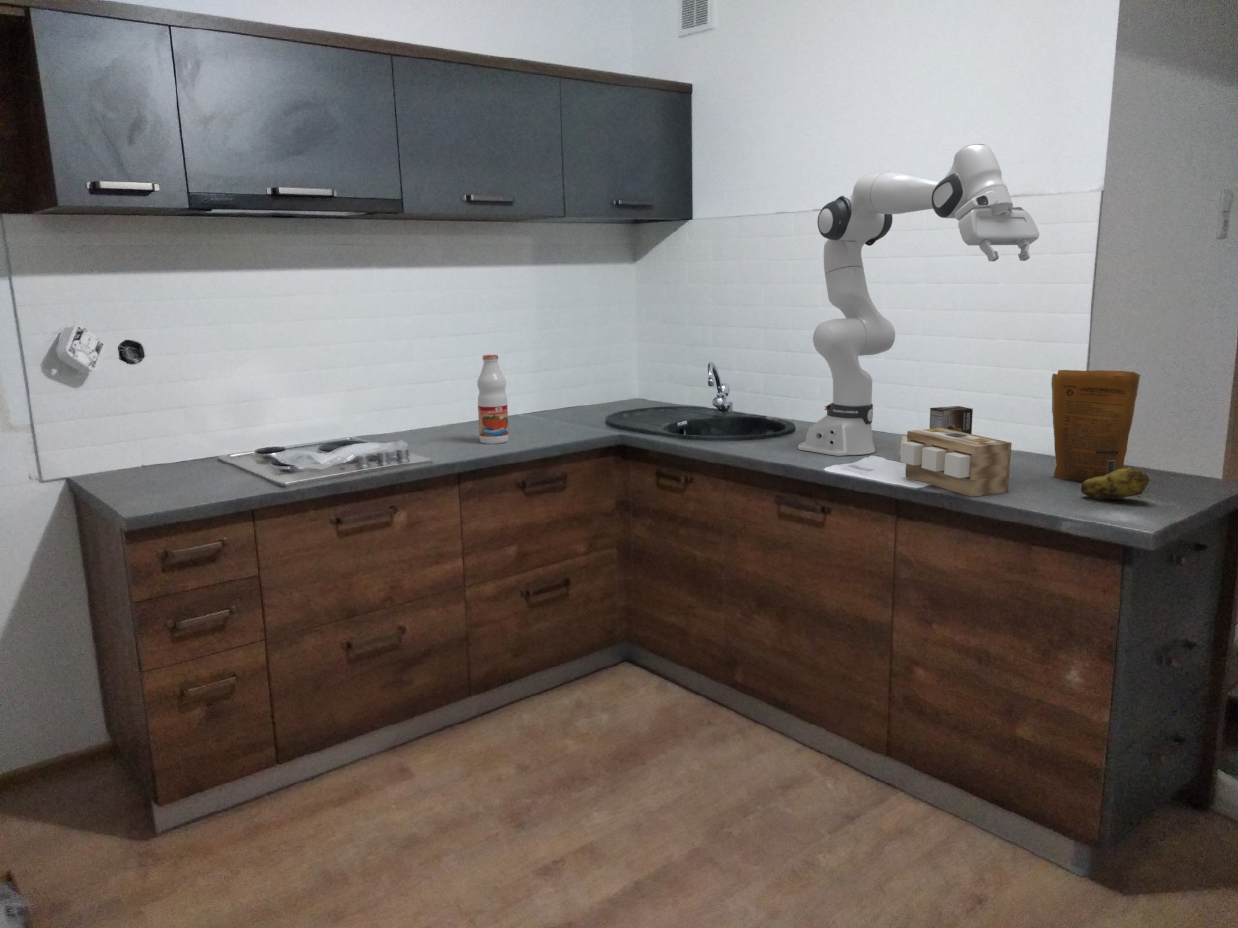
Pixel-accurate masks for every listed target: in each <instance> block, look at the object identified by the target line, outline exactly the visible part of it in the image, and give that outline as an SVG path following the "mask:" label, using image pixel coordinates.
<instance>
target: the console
mask: <svg viewBox="0 0 1238 928" xmlns="http://www.w3.org/2000/svg"><path fill="white" fill-rule="evenodd" d="M906 435H907V436H906V437H907V438H906V442H911V441H919V442H923V443H925V448H926V447H935V446H939V447H944V448H948V453H954V452H964V453H968V454H972V458H971V474H970V477H964V478H957V477H953V476H950V475H946V474H944V471H936V472H935V471H932V470H928V469H924V468H922V465H910V464H906V463H905V474H904V475H905V478H909V479H912V480H915V481H919V482H922V483H925V484H929V485H932V486H935V487H939V488H942V489H944V490H949V491H952V492H954V493H959V494H962V495H965V496H969V497H972V498H975V497H981V496H988V495H995V494H996V495H997V494H1002V493H1003V494H1004V493H1009V486H1010V472H1011V471H1010V469H1011V456H1012V445H1013V444H1012V442H1010V441H1004V440H1000V439H996V438H991V437H987V436H981V435H977V434H973V433H972V434H968V433H964V432H959V431H954V430H950V429H945V428H933V429H929V428H925V429H917V430H916V429H915V430H907V434H906Z"/></svg>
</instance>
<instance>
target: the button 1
mask: <svg viewBox="0 0 1238 928" xmlns="http://www.w3.org/2000/svg"><path fill="white" fill-rule="evenodd" d="M923 448H925V443H923V442H919V441H911V442H907V441H903V442H901V443H900V460H899V461H900V463H902V464H903V463H904V464H905V465H906V464H910V465H922V450H923Z"/></svg>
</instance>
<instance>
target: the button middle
mask: <svg viewBox="0 0 1238 928" xmlns="http://www.w3.org/2000/svg"><path fill="white" fill-rule="evenodd" d="M946 453H948V448H944V447H939V446H935V447H926V448H923V450H922V468H924V469H928V470H932V471H935V472H936V471H944V469H945V454H946Z"/></svg>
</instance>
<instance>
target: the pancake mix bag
mask: <svg viewBox="0 0 1238 928" xmlns="http://www.w3.org/2000/svg"><path fill="white" fill-rule="evenodd" d="M1140 378H1141V374H1139V373H1137V372H1135V371H1128V370H1104V369H1103V370H1099V369H1098V370H1096V369H1095V370H1077V369H1075V370H1074V369H1073V370H1072V369H1058V371H1057V373H1052V375H1051V382H1050V383H1051V384H1050V385H1051V413H1052V426H1053V428H1052V429H1053V440H1054V441H1053V442H1054V454H1055V456H1054V457H1055V464H1056V465H1055V468H1054V472H1053V476H1054V477H1056V478H1057V477H1058V478H1057V479H1059V478H1060V479H1059V480H1062V479H1063V480H1064V481H1069V482H1070V481H1071V482H1080V483H1083V482H1084V481H1086V480H1088V479H1090V478H1094V477H1098V476H1104V475H1107V474H1109V473H1111V472H1113V471H1115V470H1118V469H1122V468H1125V467H1124V466H1125V465H1124V464H1125V458H1126V455H1127V451H1128V443H1129V436H1130V431H1131V428H1132V426H1133V425H1132V424H1133V418H1134V414H1135V407H1136V400H1137V396H1138V392H1139V386H1140Z"/></svg>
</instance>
